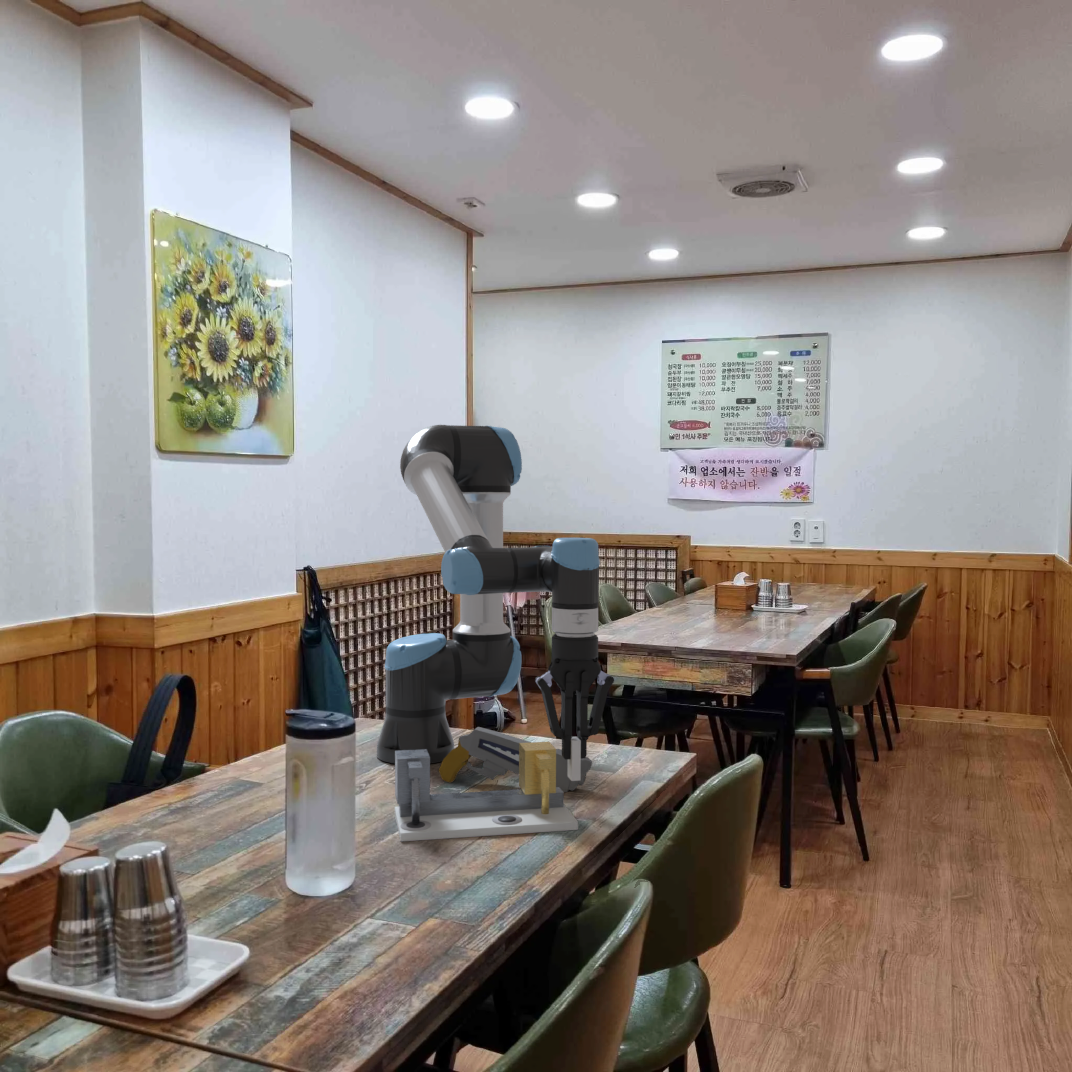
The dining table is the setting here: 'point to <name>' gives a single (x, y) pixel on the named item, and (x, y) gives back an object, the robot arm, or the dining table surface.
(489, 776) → the gun
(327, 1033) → the dining table surface
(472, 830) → the bolt plate
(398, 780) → the grey sliding rail fixture
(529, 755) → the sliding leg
